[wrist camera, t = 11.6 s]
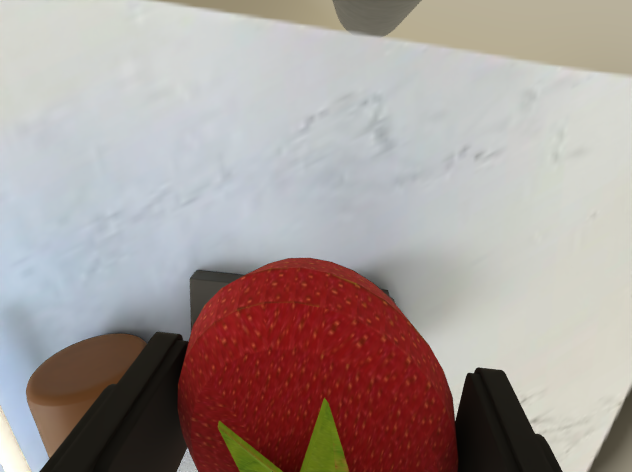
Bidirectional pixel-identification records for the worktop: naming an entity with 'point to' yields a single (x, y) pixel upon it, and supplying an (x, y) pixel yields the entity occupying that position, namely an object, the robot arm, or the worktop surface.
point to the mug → (77, 382)
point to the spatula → (10, 449)
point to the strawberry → (312, 378)
